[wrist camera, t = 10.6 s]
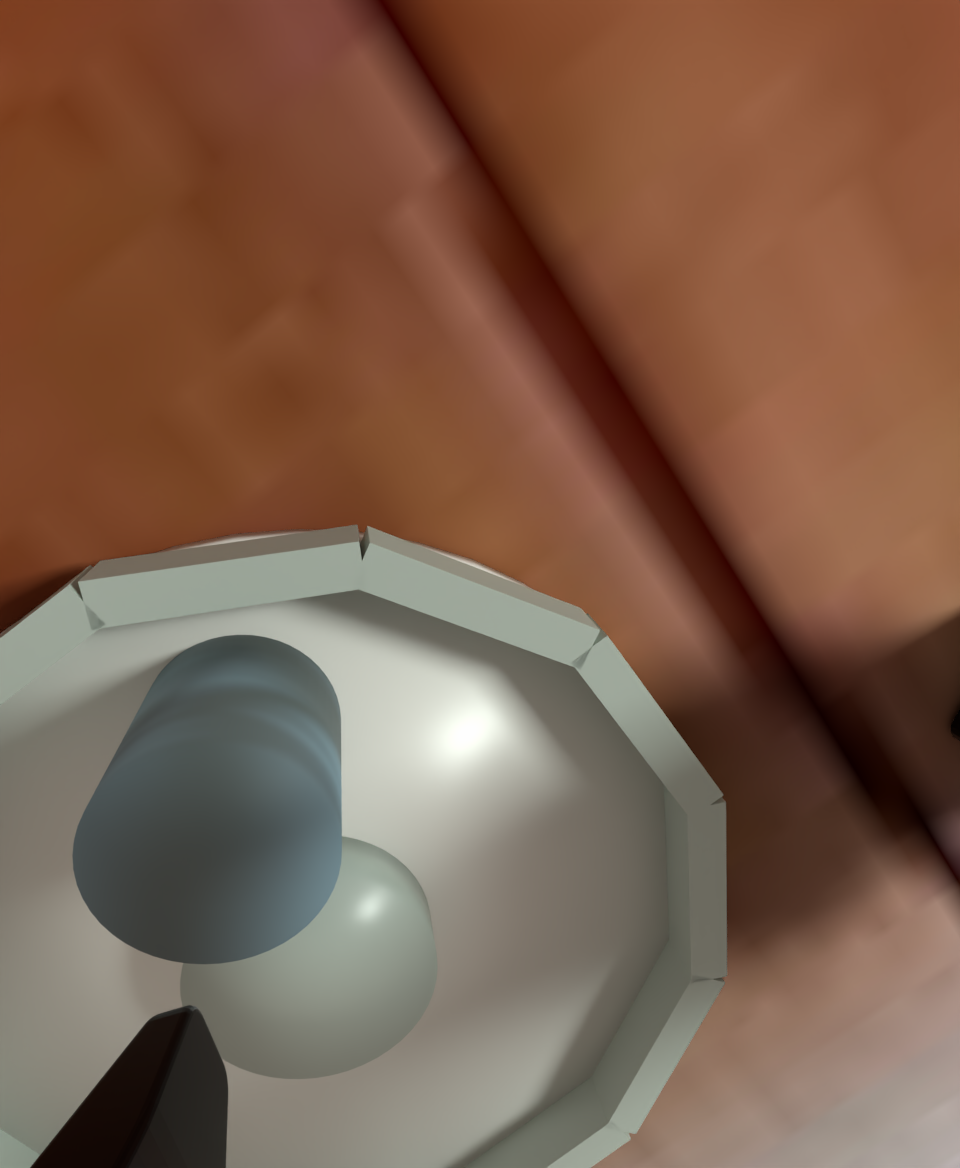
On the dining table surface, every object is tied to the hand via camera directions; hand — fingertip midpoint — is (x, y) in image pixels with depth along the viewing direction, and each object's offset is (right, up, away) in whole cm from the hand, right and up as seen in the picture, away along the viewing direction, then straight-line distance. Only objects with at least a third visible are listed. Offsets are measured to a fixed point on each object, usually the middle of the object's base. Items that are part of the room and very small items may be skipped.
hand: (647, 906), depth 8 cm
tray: (-6, -5, +13) cm, 15 cm away
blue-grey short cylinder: (-7, 0, +10) cm, 12 cm away
